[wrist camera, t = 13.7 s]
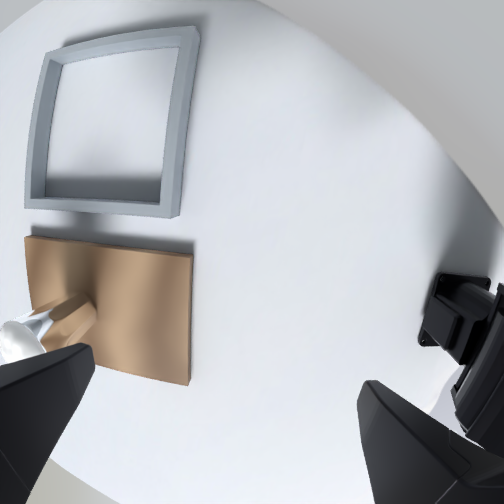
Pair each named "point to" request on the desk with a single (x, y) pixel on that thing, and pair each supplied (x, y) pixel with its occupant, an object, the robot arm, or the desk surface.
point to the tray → (175, 131)
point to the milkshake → (48, 327)
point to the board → (122, 302)
